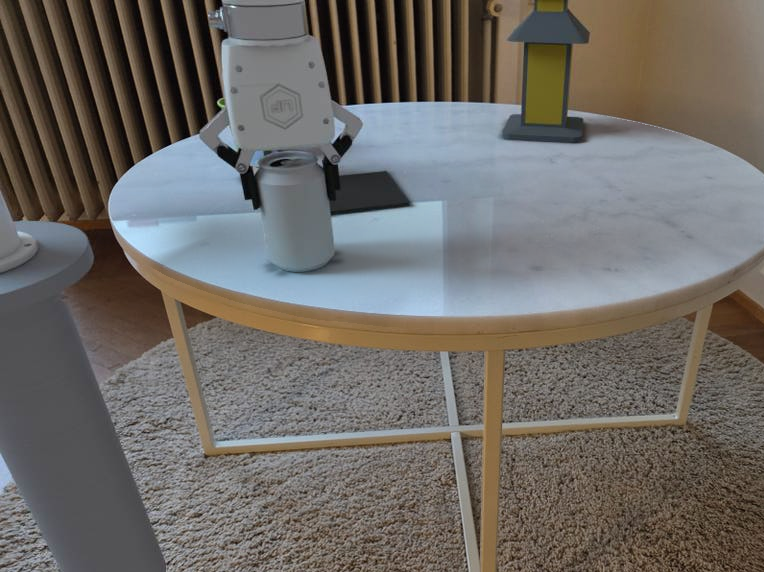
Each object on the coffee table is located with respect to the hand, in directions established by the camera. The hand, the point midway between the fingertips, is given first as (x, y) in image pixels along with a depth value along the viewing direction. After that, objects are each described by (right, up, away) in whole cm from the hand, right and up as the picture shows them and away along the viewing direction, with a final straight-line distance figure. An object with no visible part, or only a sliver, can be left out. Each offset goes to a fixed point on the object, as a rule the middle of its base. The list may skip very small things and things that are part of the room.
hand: (294, 200), depth 74 cm
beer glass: (-12, +10, +28) cm, 32 cm away
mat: (+2, +6, +22) cm, 23 cm away
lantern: (+32, +25, +51) cm, 65 cm away
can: (0, -6, +4) cm, 7 cm away
